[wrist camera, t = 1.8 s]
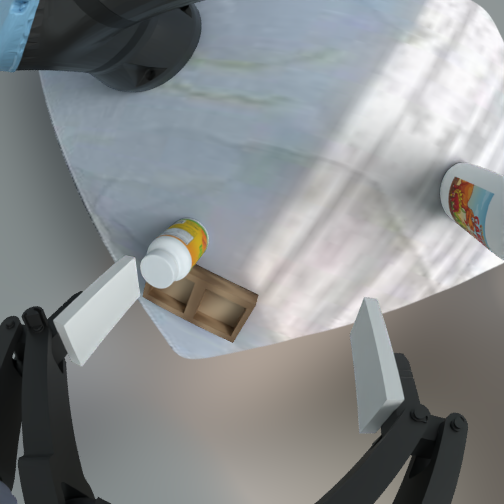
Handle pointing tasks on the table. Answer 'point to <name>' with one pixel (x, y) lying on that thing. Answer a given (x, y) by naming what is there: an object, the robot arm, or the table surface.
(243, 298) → the compartment tray
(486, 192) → the milk bottle
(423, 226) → the table surface
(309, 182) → the table surface
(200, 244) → the supplement bottle
